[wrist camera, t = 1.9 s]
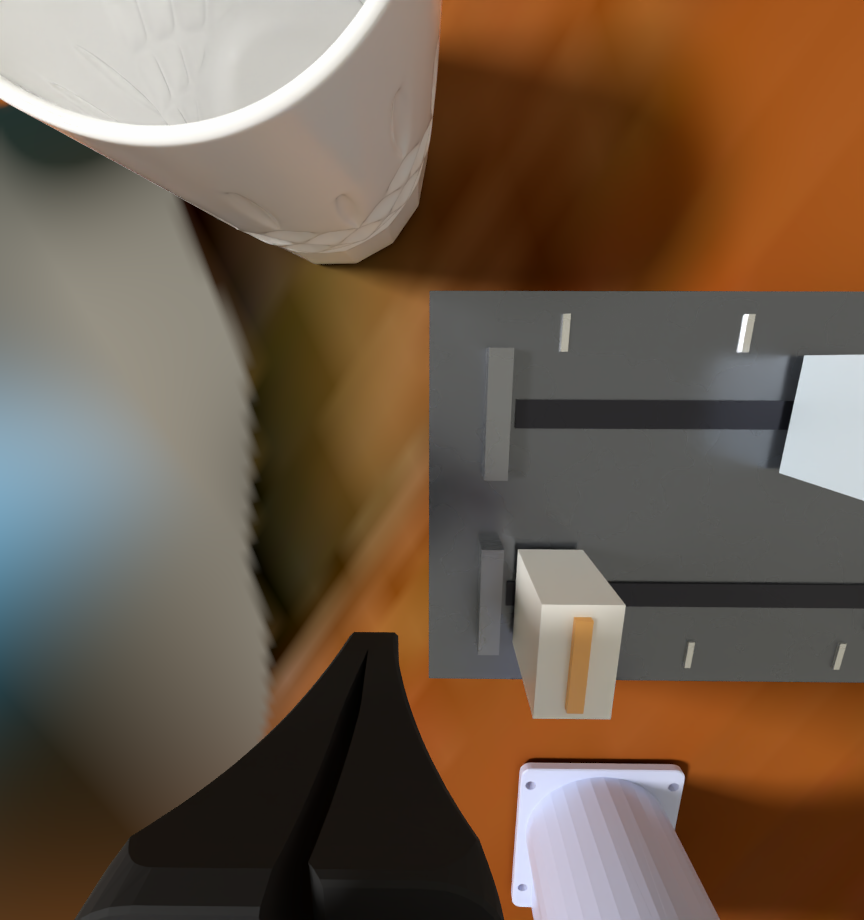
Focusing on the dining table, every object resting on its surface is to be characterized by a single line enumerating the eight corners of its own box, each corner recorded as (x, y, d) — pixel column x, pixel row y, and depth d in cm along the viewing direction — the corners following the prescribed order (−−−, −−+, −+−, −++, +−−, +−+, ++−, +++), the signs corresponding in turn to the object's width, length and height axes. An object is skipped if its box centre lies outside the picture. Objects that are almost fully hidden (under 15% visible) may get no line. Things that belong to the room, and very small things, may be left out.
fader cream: (573, 642, 16) (613, 724, 12) (512, 642, 16) (534, 723, 12) (582, 549, 15) (628, 609, 11) (518, 549, 15) (543, 608, 11)
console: (887, 649, 19) (964, 698, 16) (429, 645, 19) (428, 693, 16) (998, 300, 15) (1124, 287, 12) (430, 299, 15) (429, 286, 12)
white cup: (376, -30, 13) (189, -1254, 3) (480, 218, 14) (571, -71, 5) (172, 102, 14) (-469, -522, 4) (292, 321, 15) (46, 255, 6)
